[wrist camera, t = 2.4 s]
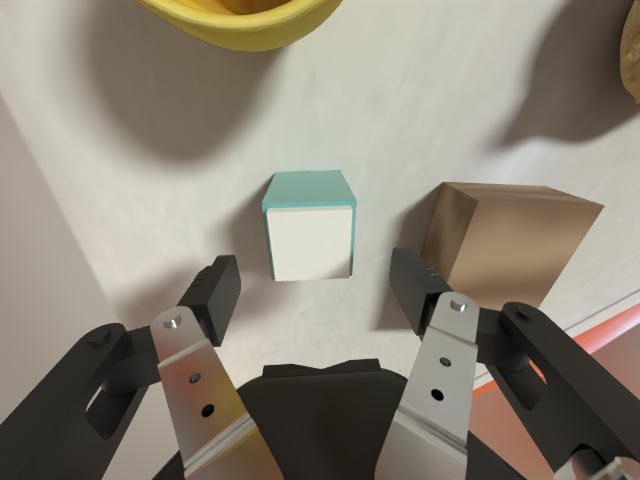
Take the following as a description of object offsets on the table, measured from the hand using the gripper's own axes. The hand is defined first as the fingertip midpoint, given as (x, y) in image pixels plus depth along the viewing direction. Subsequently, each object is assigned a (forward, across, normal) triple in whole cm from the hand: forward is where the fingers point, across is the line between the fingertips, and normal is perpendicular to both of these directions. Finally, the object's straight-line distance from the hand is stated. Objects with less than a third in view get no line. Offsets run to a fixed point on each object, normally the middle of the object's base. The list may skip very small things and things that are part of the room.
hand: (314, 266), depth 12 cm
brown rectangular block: (+9, -15, +6) cm, 18 cm away
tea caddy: (+9, 0, 0) cm, 9 cm away
